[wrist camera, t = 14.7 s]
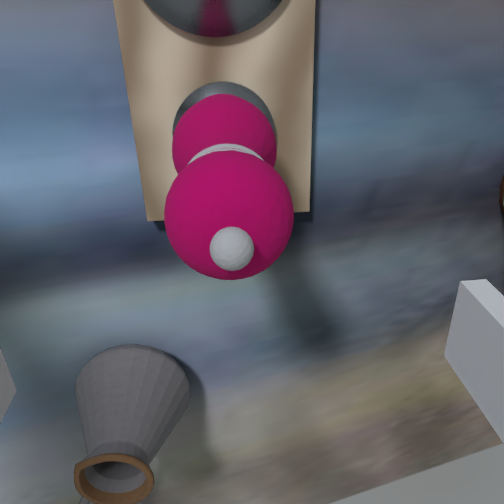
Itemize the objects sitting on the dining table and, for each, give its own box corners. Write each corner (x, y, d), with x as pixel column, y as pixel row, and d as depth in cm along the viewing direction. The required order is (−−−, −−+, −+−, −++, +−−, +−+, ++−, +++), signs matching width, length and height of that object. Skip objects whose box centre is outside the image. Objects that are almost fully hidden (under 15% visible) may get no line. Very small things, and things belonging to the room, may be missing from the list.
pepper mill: (285, 111, 34) (360, 213, 17) (246, 193, 37) (274, 354, 20) (197, 69, 32) (177, 134, 15) (163, 158, 35) (112, 302, 18)
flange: (179, 186, 37) (178, 188, 37) (167, 83, 33) (166, 84, 33) (274, 180, 37) (275, 182, 37) (273, 78, 34) (274, 79, 33)
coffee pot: (118, 311, 44) (76, 437, 31) (212, 362, 48) (212, 493, 35) (21, 437, 51) (-46, 584, 38) (111, 472, 55) (78, 617, 42)
